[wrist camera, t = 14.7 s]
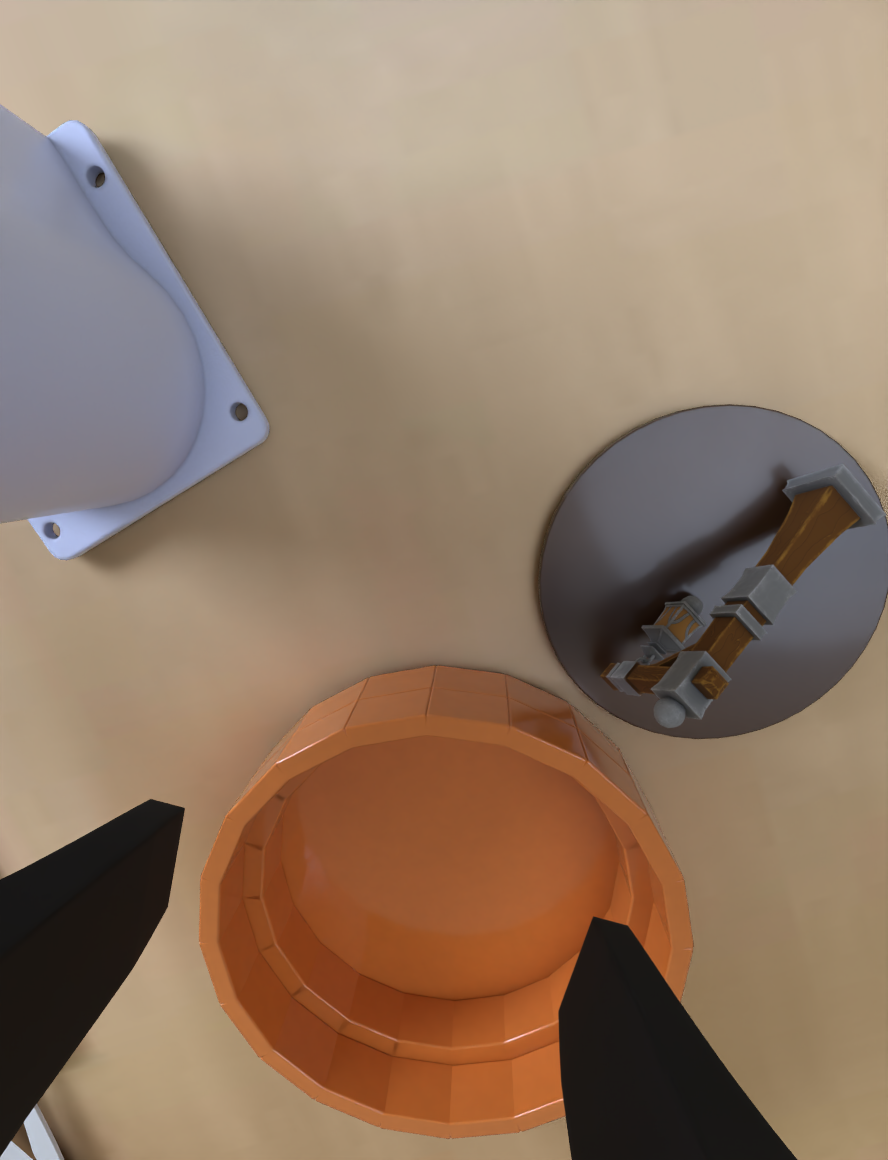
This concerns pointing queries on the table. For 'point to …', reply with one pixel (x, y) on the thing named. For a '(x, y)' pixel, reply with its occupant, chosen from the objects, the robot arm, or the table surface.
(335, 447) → the table surface
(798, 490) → the wooden post with brackets
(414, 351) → the table surface
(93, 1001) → the robot arm
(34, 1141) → the scissors
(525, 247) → the table surface
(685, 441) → the coaster
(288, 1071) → the bowl
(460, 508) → the table surface
